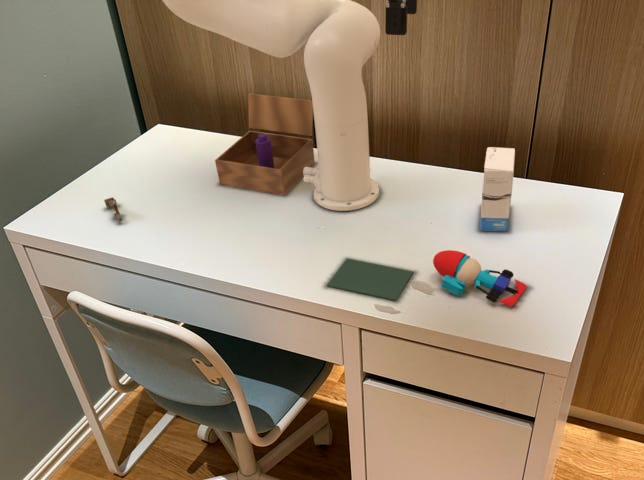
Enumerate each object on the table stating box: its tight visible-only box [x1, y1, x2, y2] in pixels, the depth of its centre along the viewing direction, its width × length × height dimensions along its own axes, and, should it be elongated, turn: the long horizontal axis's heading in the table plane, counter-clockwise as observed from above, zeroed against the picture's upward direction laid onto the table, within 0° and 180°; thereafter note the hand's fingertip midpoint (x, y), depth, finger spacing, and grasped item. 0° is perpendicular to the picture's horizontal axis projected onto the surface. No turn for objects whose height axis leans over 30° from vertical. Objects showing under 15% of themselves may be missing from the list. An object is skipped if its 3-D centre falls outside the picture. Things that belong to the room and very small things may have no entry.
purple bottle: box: [255, 134, 274, 168], centre depth 143 cm, size 3×3×8 cm
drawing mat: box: [326, 258, 414, 302], centre depth 116 cm, size 12×8×1 cm, turn 65°
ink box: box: [479, 146, 516, 232], centre depth 123 cm, size 8×5×12 cm, turn 168°
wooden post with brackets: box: [103, 196, 123, 223], centre depth 137 cm, size 2×8×4 cm, turn 28°
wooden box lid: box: [247, 93, 314, 137], centre depth 145 cm, size 15×7×1 cm
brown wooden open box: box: [214, 130, 316, 197], centre depth 144 cm, size 15×14×5 cm
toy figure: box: [432, 249, 528, 308], centre depth 112 cm, size 8×5×15 cm
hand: (401, 23), depth 112 cm, fingers open, 9 cm apart
